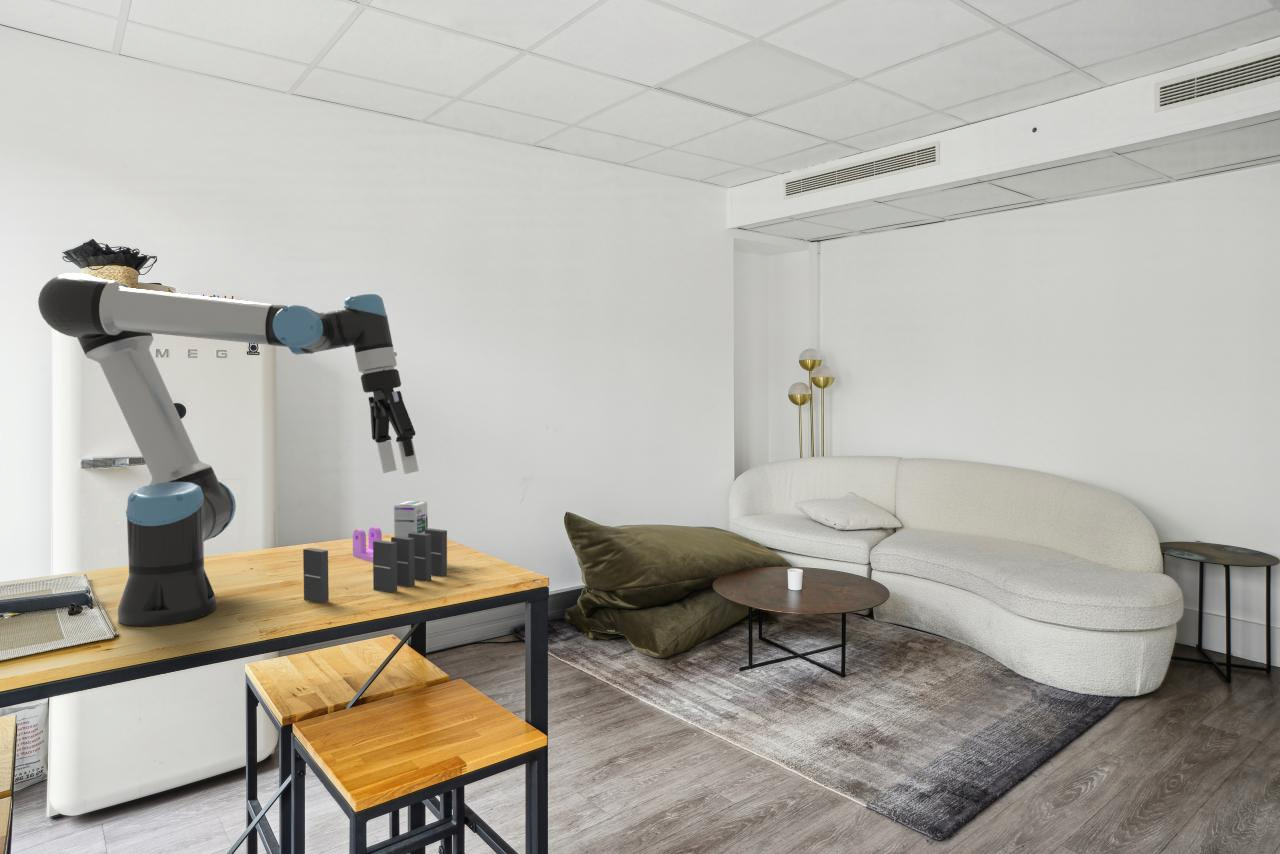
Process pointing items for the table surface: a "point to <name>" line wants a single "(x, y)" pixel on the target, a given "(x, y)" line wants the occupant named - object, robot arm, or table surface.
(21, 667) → the table surface
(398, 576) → the domino
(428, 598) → the table surface
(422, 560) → the domino
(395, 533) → the syrup box
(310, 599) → the domino
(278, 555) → the table surface
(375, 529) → the bracket
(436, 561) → the domino
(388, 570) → the domino
